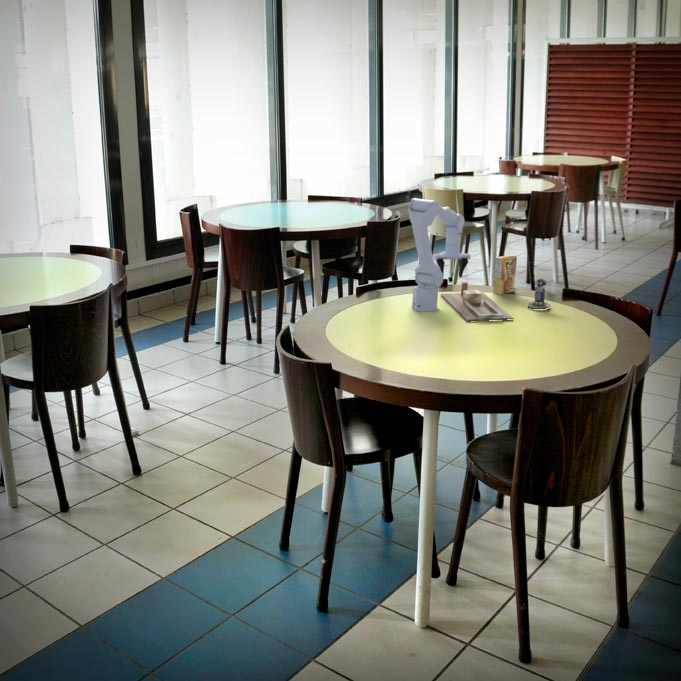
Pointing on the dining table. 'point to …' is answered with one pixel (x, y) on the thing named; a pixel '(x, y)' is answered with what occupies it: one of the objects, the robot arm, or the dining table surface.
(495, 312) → the thin wooden panel
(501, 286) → the candy box
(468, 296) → the joystick
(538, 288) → the figurine
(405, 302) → the dining table surface
